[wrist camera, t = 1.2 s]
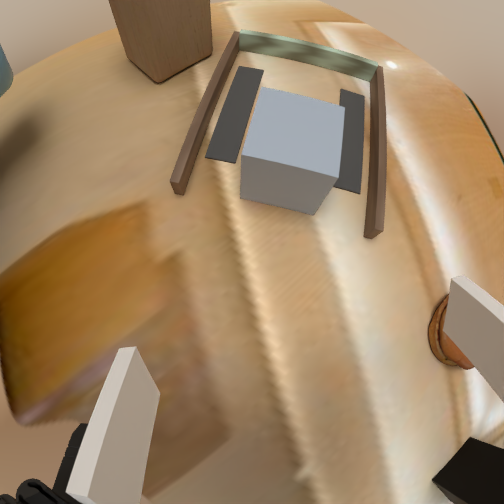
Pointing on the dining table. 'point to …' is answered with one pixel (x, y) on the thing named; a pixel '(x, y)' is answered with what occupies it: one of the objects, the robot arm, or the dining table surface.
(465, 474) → the black tall block
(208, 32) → the wooden block
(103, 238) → the dining table surface
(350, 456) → the dining table surface
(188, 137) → the u-shaped frame
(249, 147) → the slate block
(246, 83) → the pads
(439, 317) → the burger
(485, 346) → the robot arm
